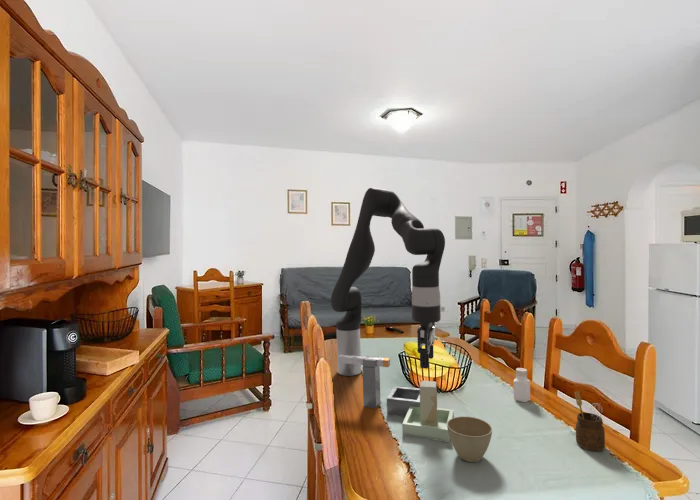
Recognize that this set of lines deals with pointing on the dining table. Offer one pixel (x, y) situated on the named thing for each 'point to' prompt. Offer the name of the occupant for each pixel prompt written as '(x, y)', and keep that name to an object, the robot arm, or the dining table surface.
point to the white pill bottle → (521, 385)
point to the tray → (416, 429)
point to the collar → (402, 400)
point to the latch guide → (371, 383)
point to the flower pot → (469, 437)
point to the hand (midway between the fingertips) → (427, 362)
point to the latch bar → (359, 360)
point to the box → (428, 403)
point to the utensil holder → (589, 429)
